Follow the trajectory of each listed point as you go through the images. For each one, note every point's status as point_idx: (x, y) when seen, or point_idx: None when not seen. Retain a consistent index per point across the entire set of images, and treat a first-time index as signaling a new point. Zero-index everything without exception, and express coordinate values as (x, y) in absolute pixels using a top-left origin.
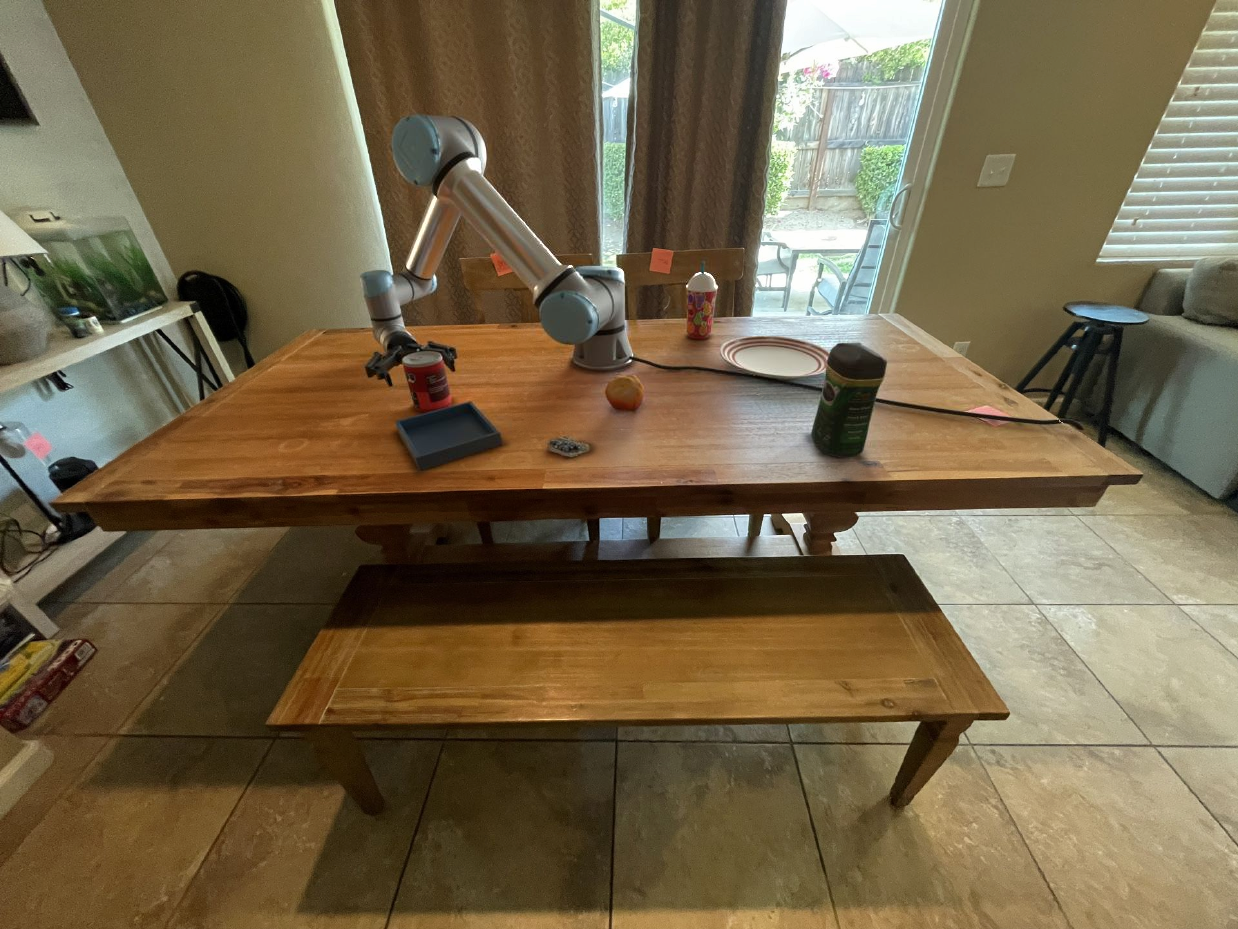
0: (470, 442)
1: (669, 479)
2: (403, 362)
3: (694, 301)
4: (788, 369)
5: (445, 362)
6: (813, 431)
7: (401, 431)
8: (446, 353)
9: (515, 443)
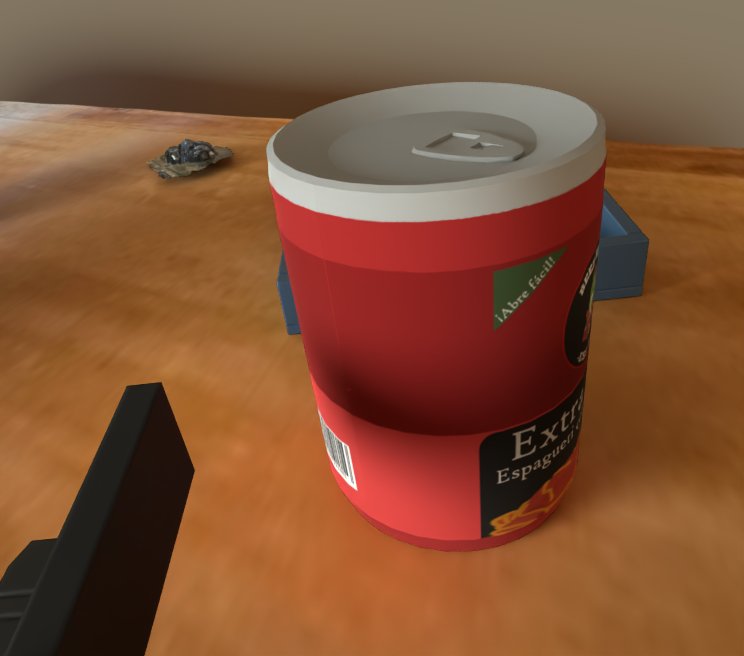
0: None
1: (135, 112)
2: (586, 105)
3: None
4: None
5: (126, 649)
6: None
7: (605, 192)
8: (36, 589)
9: None
